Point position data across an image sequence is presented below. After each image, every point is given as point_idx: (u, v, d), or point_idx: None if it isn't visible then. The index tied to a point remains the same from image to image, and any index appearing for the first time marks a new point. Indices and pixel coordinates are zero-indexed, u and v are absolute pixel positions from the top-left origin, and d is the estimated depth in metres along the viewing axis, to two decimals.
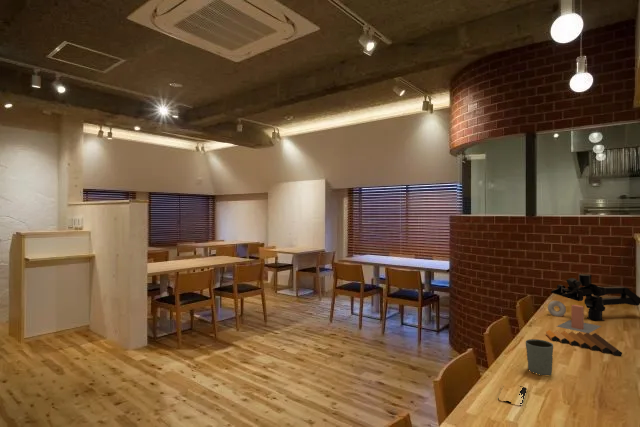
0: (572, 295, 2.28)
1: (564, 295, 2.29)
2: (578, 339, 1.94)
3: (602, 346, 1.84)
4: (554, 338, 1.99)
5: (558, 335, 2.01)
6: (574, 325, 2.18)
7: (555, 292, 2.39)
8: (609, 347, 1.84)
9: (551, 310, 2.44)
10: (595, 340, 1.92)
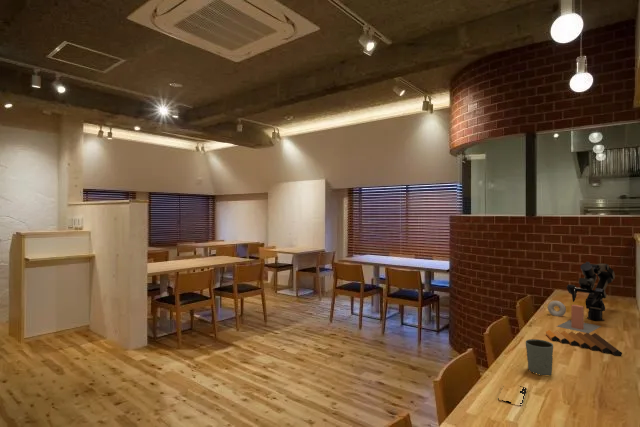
0: (596, 296, 2.21)
1: (593, 302, 2.19)
2: (578, 339, 1.94)
3: (602, 346, 1.84)
4: (554, 338, 1.98)
5: (558, 335, 2.01)
6: (574, 325, 2.18)
7: (574, 298, 2.28)
8: (609, 347, 1.84)
9: (551, 310, 2.44)
10: (595, 340, 1.92)
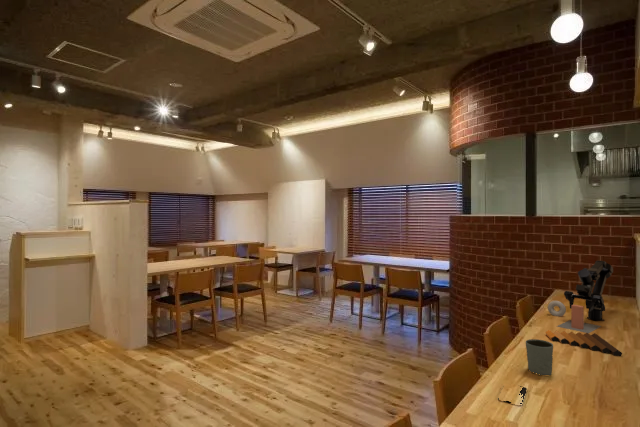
0: None
1: (590, 309, 2.16)
2: (578, 339, 1.94)
3: (602, 346, 1.84)
4: (554, 338, 1.98)
5: (558, 336, 2.00)
6: (574, 325, 2.18)
7: (572, 304, 2.25)
8: (609, 347, 1.84)
9: (551, 310, 2.44)
10: (595, 340, 1.92)
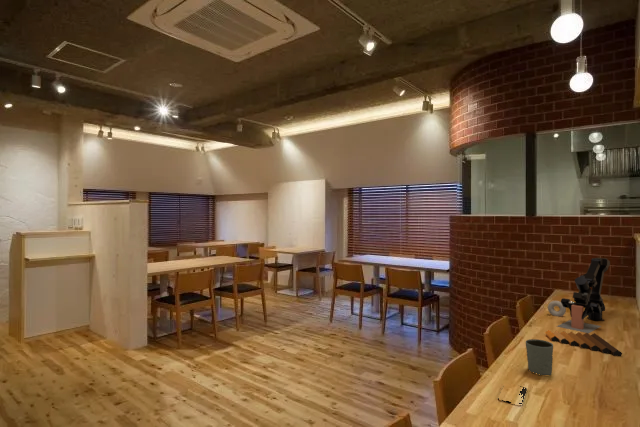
0: (587, 311, 2.17)
1: (583, 317, 2.15)
2: (578, 339, 1.94)
3: (602, 346, 1.84)
4: (554, 338, 1.98)
5: (558, 336, 2.00)
6: (574, 325, 2.18)
7: None
8: (609, 347, 1.83)
9: (551, 310, 2.44)
10: (595, 340, 1.92)
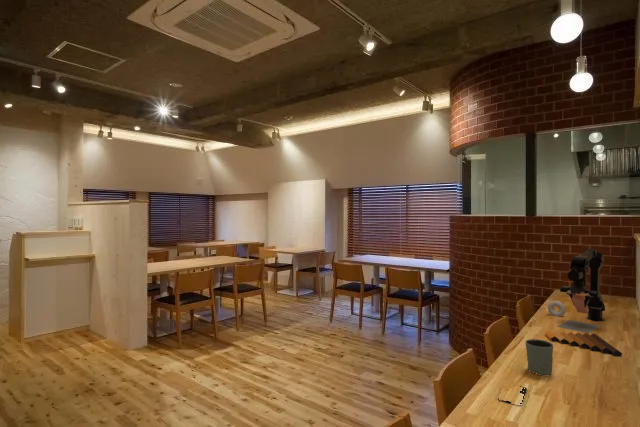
0: None
1: (586, 305, 2.18)
2: (577, 339, 1.94)
3: (602, 346, 1.84)
4: (553, 338, 1.98)
5: (558, 336, 2.00)
6: (580, 311, 2.23)
7: None
8: (609, 347, 1.83)
9: (551, 310, 2.44)
10: (594, 340, 1.92)
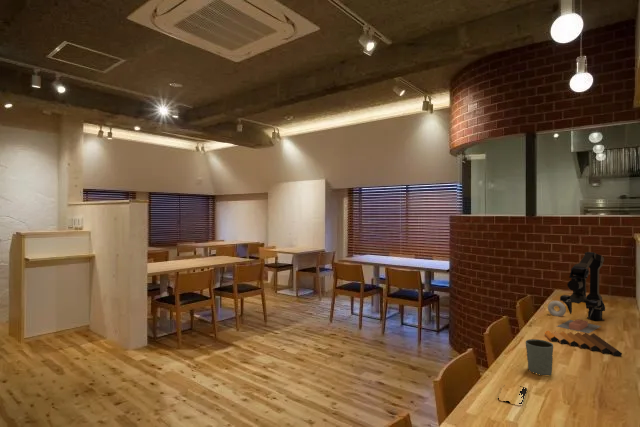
0: None
1: (590, 315, 2.16)
2: (577, 340, 1.93)
3: (602, 346, 1.83)
4: (553, 339, 1.98)
5: (557, 336, 2.00)
6: None
7: (571, 308, 2.24)
8: (608, 347, 1.83)
9: (551, 310, 2.44)
10: (594, 340, 1.92)
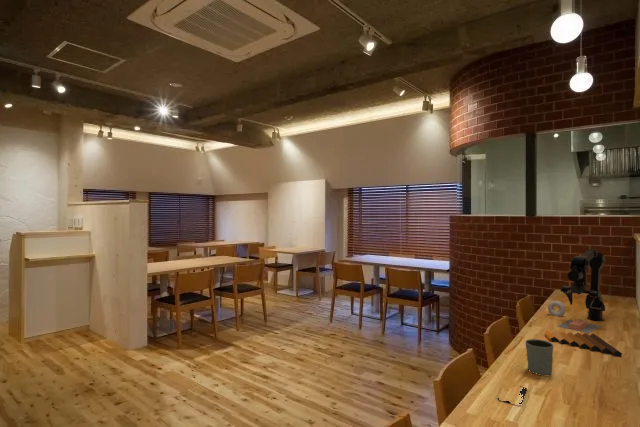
0: (592, 297, 2.17)
1: (591, 305, 2.18)
2: (577, 340, 1.93)
3: (601, 347, 1.83)
4: (553, 339, 1.97)
5: (557, 336, 2.00)
6: None
7: (571, 299, 2.26)
8: (608, 348, 1.83)
9: (551, 310, 2.44)
10: (594, 341, 1.91)
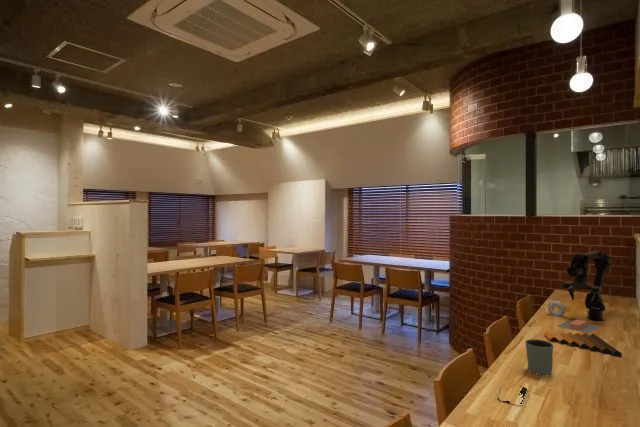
0: None
1: (591, 300, 2.24)
2: (577, 340, 1.93)
3: (601, 347, 1.83)
4: (553, 339, 1.97)
5: (557, 336, 1.99)
6: None
7: (573, 295, 2.32)
8: (608, 348, 1.83)
9: (551, 310, 2.44)
10: (594, 341, 1.91)
